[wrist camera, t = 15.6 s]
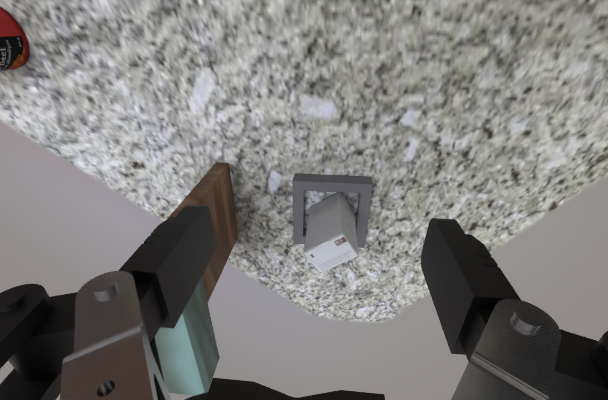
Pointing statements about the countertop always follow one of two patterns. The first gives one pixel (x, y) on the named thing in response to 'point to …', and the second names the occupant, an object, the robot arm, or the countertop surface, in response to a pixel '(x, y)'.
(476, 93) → the countertop surface
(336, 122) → the countertop surface
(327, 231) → the skincare box
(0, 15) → the canned food
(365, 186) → the socket
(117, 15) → the countertop surface
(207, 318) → the awning stand
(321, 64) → the countertop surface
